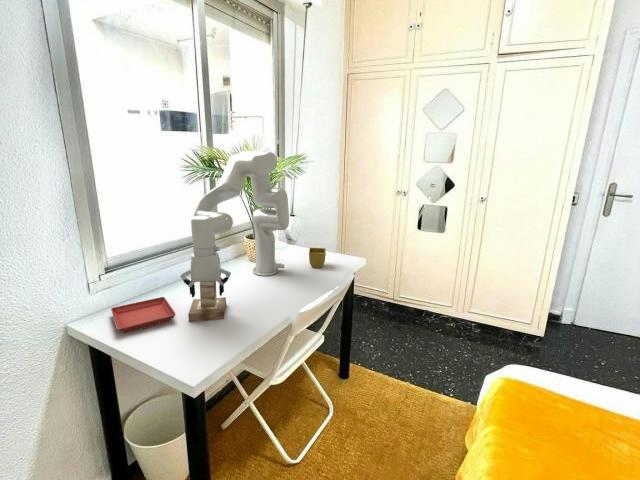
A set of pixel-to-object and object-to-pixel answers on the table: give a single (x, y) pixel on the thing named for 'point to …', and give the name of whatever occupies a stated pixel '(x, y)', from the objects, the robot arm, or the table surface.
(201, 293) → the skincare box
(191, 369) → the table surface
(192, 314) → the base slab
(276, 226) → the robot arm
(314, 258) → the flower pot
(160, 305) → the plant saucer
